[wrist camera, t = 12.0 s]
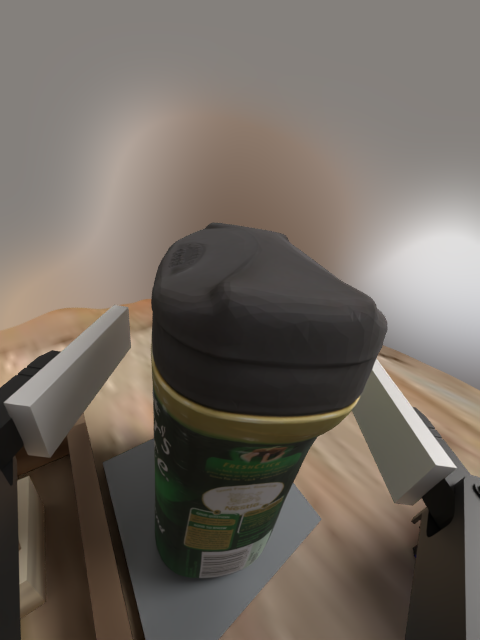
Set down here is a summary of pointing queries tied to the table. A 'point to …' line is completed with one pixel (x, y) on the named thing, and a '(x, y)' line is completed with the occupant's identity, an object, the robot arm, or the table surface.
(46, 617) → the table surface
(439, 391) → the table surface
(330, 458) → the table surface
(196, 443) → the coffee jar
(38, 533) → the offcut lower
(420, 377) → the table surface
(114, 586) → the tray
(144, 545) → the pad
